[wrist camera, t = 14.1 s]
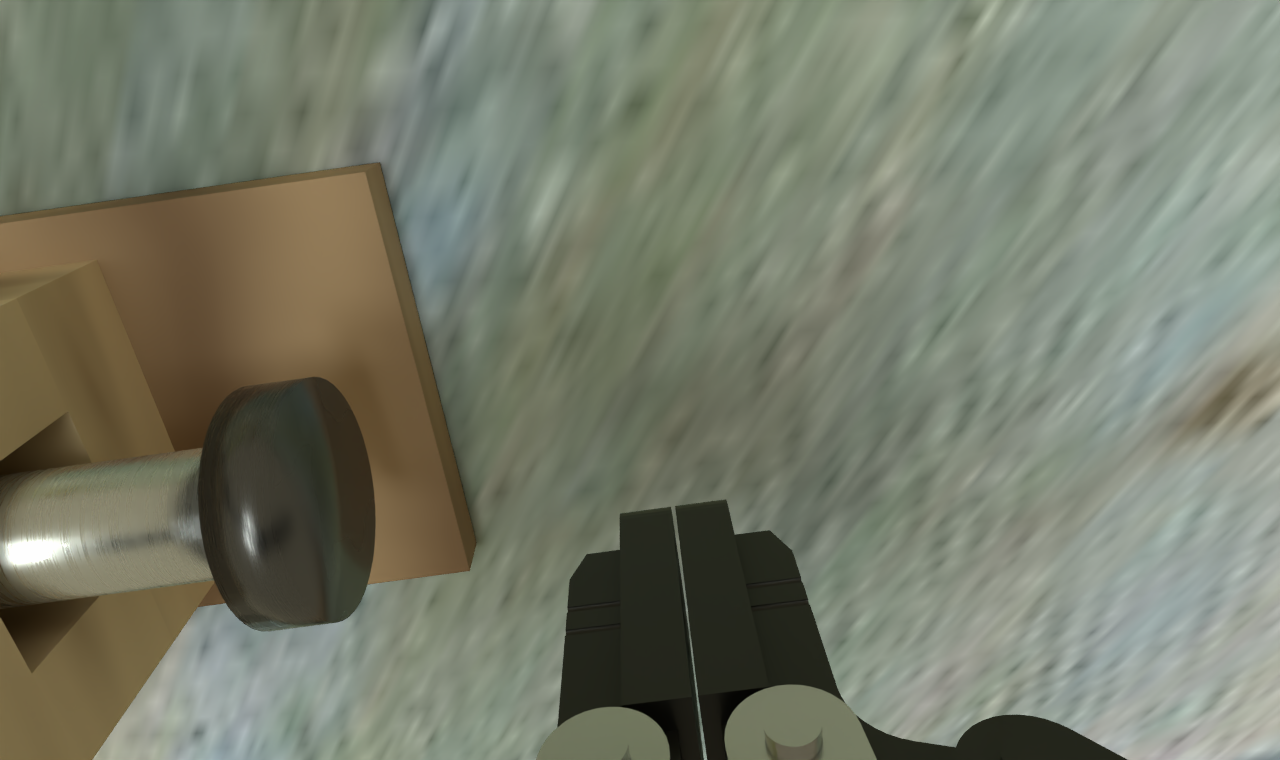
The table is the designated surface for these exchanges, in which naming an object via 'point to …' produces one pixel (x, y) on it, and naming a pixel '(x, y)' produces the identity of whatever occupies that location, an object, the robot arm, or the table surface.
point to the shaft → (209, 514)
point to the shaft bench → (202, 396)
